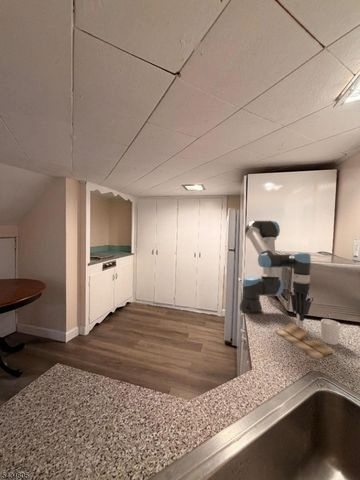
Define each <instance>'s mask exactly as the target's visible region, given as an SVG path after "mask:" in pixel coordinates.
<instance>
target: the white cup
mask: <svg viewBox="0 0 360 480" xmlns="http://www.w3.org/2000/svg"><path fill="white" fill-rule="evenodd" d="M340 331H341V323H340V322H339V321H336V320H334V319H333V320H332V319H329V318H322V319H321V320H320V333H321V340H322V342H324V343H325V344H327V345H332V346H336V345H338V344H339V340H340V339H339V338H340Z"/></svg>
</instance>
